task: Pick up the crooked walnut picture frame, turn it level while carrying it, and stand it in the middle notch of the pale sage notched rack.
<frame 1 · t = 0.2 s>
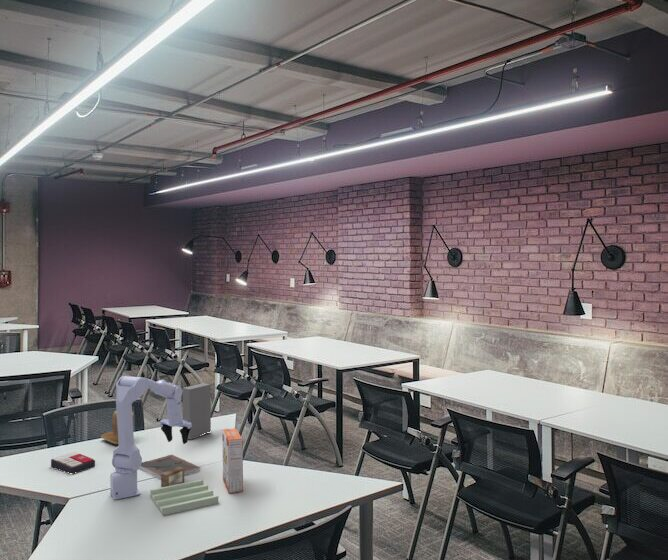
hand: (177, 441, 247), 10 cm above the table, tool pointing down, fingers open, 7 cm apart
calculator: (73, 468, 246), on the table
rack: (183, 499, 214), on the table
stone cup: (119, 441, 279), on the table
frame: (172, 485, 227), on the table
cracker box: (232, 486, 227), on the table
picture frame: (168, 471, 244), on the table
grey tall slab: (196, 436, 289), on the table
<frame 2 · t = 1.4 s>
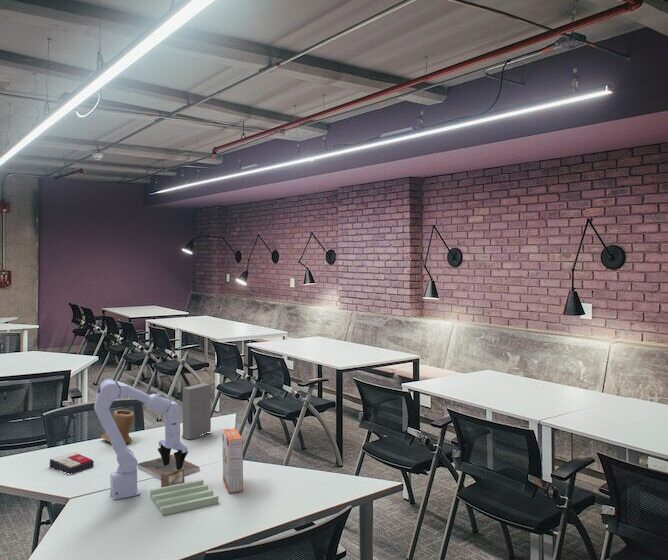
hand: (172, 467, 226), 7 cm above the table, tool pointing down, fingers open, 7 cm apart
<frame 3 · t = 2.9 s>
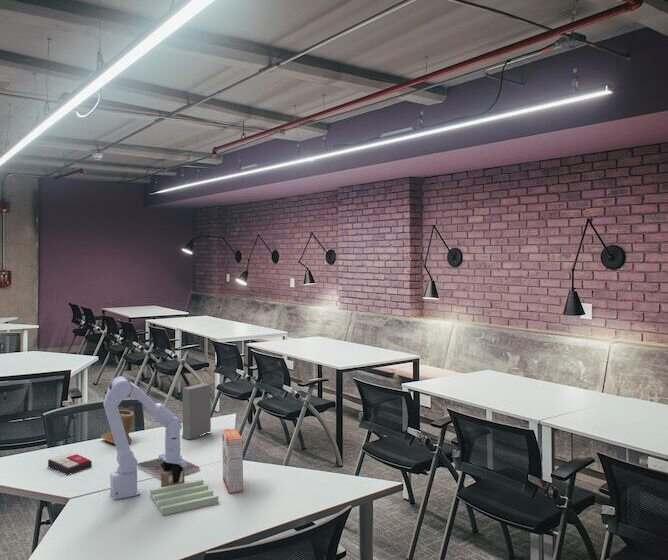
hand: (172, 481, 227), 2 cm above the table, tool pointing down, fingers closed on frame, 3 cm apart
frame: (172, 485, 227), on the table, touching gripper
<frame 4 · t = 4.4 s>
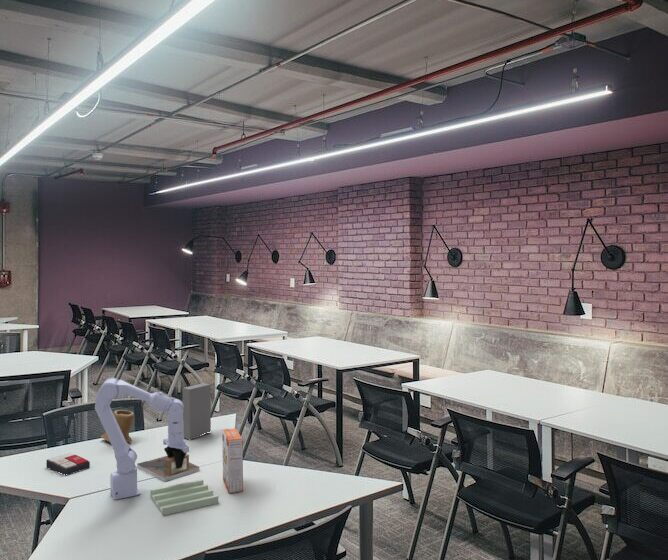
hand: (176, 466, 222), 9 cm above the table, tool pointing down, fingers closed on frame, 3 cm apart
frame: (176, 472, 223), point 7 cm above the table, touching gripper
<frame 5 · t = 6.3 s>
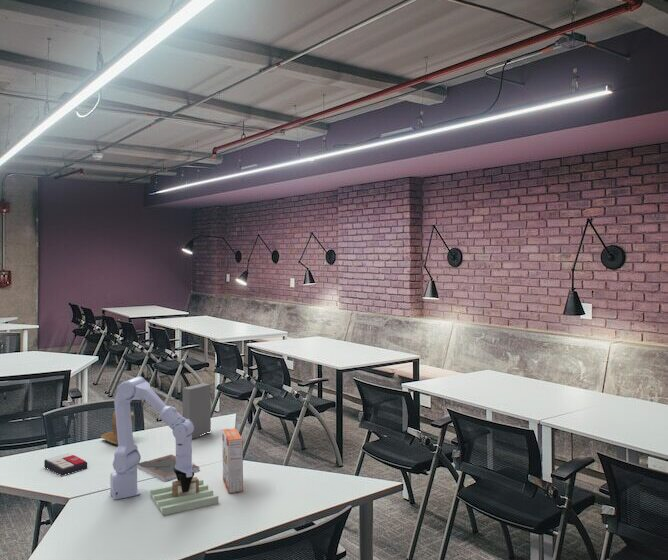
hand: (184, 489, 214), 4 cm above the table, tool pointing down, fingers closed on frame, 3 cm apart
frame: (185, 496, 214), point 1 cm above the table, touching gripper, rack
when the fingers open (4 cm above the table, at t = 6.8 s): frame stays where it is, resting on rack.
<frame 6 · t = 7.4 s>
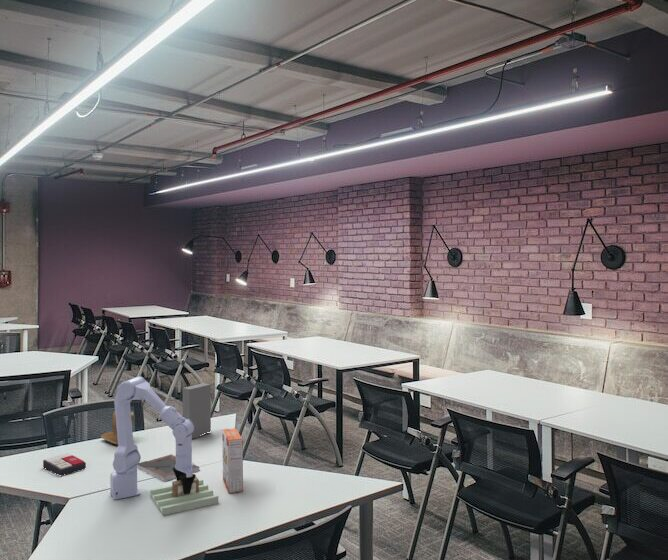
hand: (183, 489, 214), 4 cm above the table, tool pointing down, fingers open, 7 cm apart
frame: (185, 496, 214), point 1 cm above the table, touching rack
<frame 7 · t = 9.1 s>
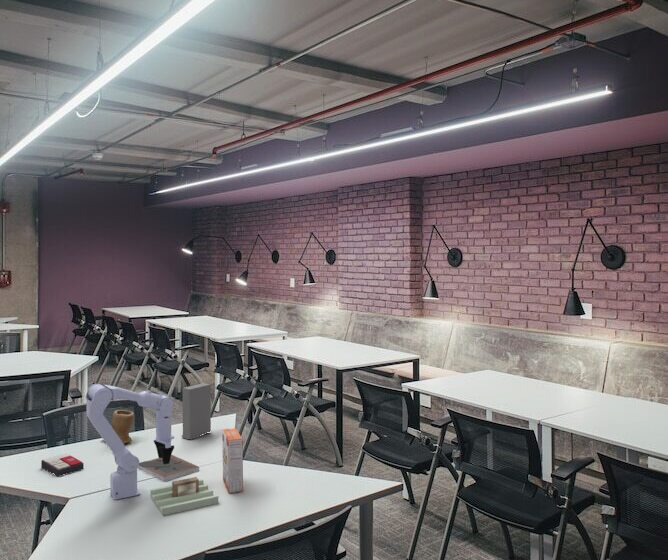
hand: (163, 460, 227), 9 cm above the table, tool pointing down, fingers open, 7 cm apart
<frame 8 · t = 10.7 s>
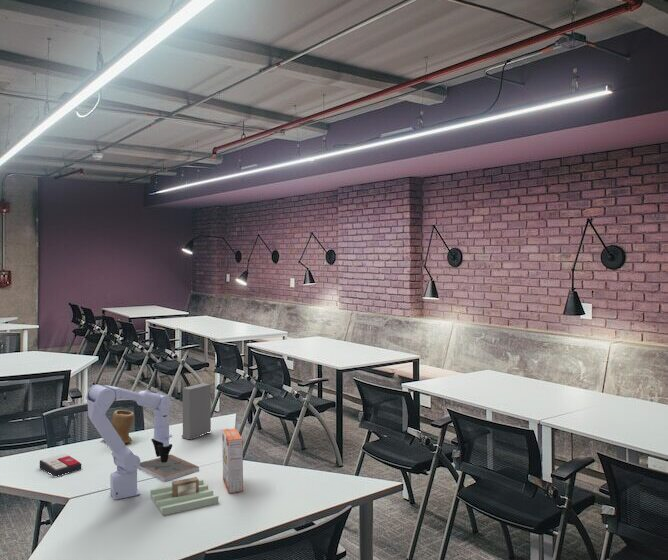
hand: (161, 459, 229), 9 cm above the table, tool pointing down, fingers open, 7 cm apart
at the end: frame 0.6 cm off-centre on the rack, point 1.0 cm above the rack's base; frame tilted 0°; the gripper is holding nothing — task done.
